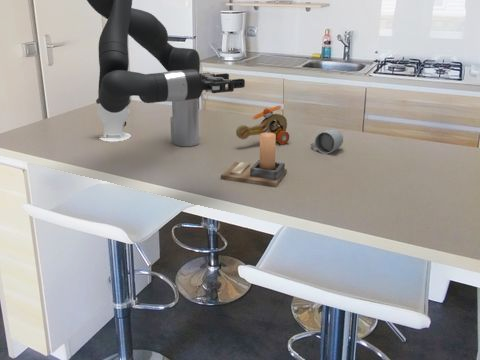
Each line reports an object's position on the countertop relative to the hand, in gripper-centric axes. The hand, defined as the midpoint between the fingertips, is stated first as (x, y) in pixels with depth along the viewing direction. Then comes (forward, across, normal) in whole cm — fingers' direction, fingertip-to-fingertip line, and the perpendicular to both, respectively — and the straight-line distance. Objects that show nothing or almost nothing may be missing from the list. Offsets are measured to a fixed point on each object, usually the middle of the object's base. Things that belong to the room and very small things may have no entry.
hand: (235, 80), depth 129 cm
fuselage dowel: (+11, 0, +29) cm, 31 cm away
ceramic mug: (+43, +12, +30) cm, 54 cm away
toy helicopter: (+28, +27, +30) cm, 49 cm away
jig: (+8, +3, +30) cm, 31 cm away
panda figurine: (-17, +60, +30) cm, 69 cm away
